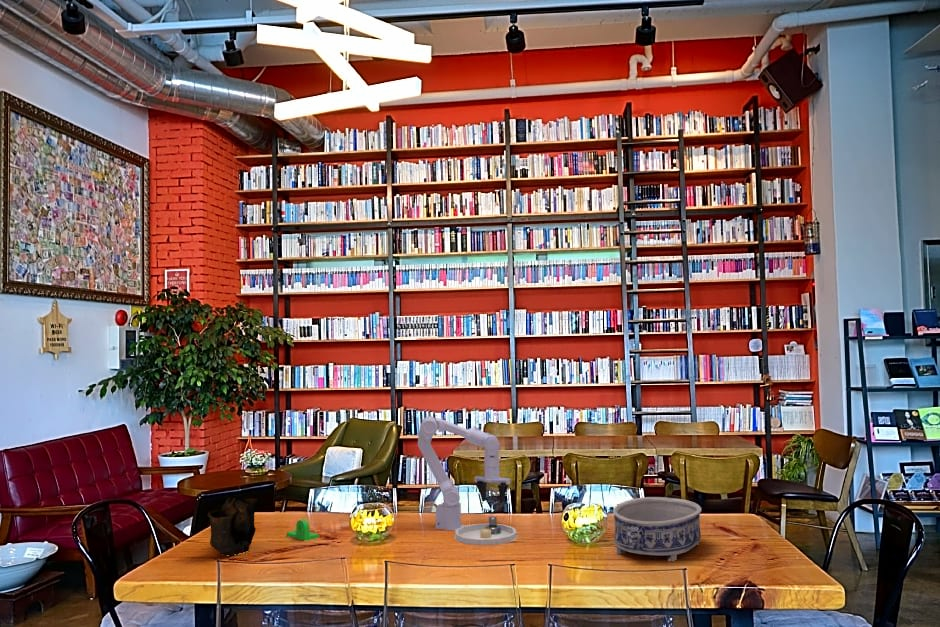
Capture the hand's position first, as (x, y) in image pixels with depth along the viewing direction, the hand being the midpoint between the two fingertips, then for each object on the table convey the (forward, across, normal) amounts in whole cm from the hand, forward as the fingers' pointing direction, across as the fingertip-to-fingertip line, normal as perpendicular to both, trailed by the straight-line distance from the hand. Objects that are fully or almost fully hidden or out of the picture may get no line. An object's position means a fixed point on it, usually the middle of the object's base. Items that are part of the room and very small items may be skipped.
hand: (492, 501), depth 282 cm
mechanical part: (+10, -59, -43) cm, 73 cm away
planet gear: (+9, +5, -11) cm, 15 cm away
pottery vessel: (+10, -67, -68) cm, 96 cm away
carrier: (+9, +5, -17) cm, 20 cm away
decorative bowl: (+10, +66, -8) cm, 67 cm away
